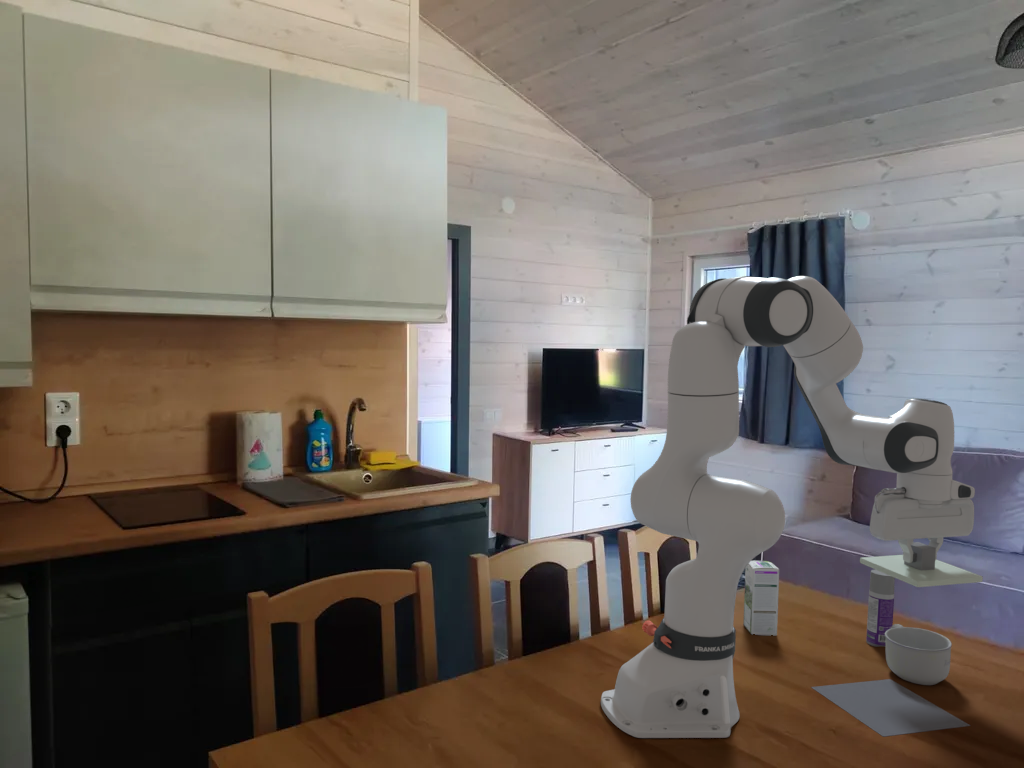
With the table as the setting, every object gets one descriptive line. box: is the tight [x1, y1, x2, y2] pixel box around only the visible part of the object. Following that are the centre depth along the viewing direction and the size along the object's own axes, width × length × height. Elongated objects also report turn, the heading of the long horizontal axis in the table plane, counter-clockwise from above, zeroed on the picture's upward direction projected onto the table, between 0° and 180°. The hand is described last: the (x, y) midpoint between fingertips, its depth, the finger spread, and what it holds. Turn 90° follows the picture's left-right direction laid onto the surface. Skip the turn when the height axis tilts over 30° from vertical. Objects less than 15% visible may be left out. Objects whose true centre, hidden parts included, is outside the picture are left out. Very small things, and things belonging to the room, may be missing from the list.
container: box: [865, 569, 896, 647], centre depth 152 cm, size 5×5×15 cm
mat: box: [811, 678, 971, 737], centre depth 124 cm, size 17×17×1 cm
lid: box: [859, 541, 984, 588], centre depth 135 cm, size 14×14×5 cm
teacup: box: [885, 623, 953, 686], centre depth 137 cm, size 14×11×8 cm
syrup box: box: [742, 560, 780, 637], centre depth 157 cm, size 6×6×14 cm
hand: (919, 561), depth 135 cm, fingers closed on lid, 3 cm apart
